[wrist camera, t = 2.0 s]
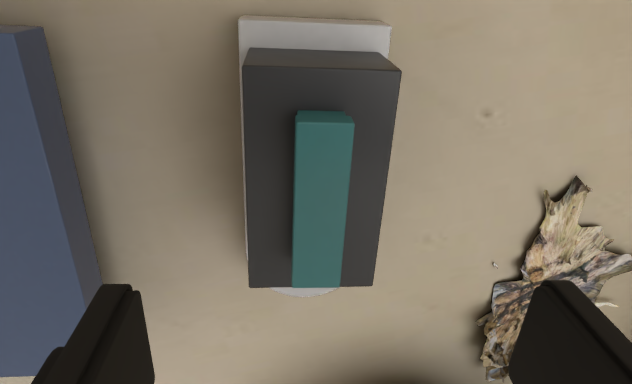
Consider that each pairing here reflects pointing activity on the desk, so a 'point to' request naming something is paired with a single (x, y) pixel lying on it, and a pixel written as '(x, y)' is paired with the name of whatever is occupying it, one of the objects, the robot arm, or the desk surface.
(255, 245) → the iron
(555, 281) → the robot arm
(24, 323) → the blue rectangular board
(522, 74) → the desk surface
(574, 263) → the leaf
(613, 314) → the desk surface
